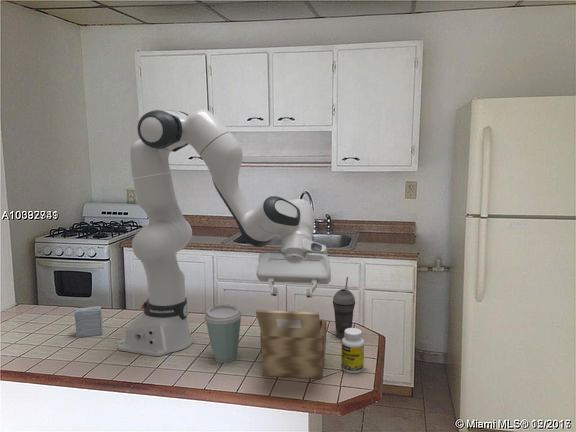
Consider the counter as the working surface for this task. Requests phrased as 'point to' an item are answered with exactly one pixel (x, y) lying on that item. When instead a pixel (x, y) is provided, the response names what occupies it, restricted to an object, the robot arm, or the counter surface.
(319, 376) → the cardboard carton
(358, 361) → the pill bottle
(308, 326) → the lid flap
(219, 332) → the disposable coffee cup
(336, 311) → the beverage cup
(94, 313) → the grey upright block
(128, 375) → the counter surface
